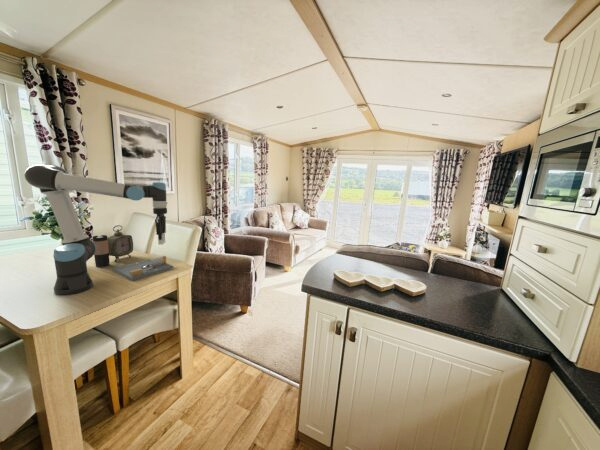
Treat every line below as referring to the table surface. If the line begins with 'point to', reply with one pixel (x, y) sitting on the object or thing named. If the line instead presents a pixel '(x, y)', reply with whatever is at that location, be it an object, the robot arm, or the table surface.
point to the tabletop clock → (120, 244)
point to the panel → (137, 265)
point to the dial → (155, 262)
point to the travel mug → (101, 251)
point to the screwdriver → (138, 271)
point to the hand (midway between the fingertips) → (161, 243)
